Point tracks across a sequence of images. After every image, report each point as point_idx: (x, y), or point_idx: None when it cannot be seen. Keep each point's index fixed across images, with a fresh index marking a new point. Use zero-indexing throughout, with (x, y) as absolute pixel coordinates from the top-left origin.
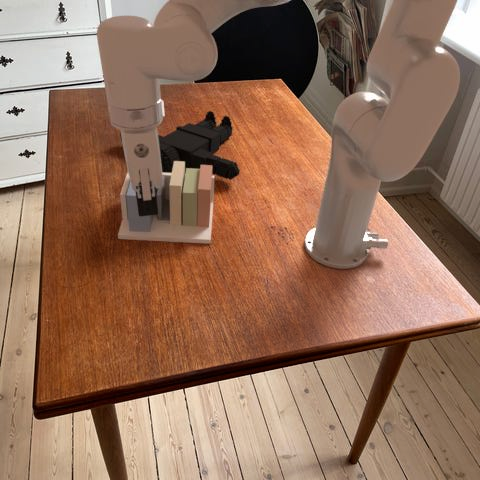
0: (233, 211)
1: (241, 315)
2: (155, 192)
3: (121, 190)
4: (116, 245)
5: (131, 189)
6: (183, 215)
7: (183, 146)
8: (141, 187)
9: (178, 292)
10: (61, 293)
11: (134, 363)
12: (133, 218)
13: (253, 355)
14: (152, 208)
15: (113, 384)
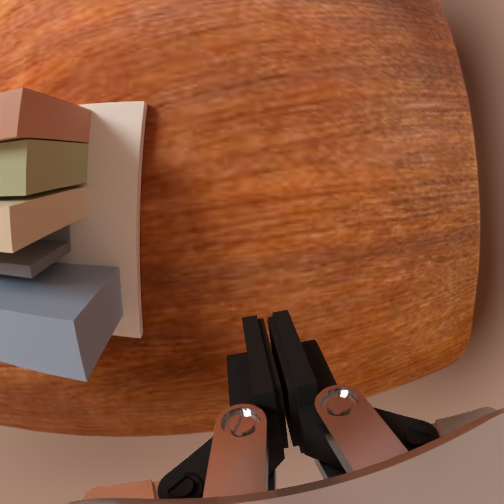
0: (32, 65)
1: (390, 65)
2: (272, 384)
3: None
4: (165, 333)
5: (55, 367)
6: (71, 183)
7: None
8: (275, 462)
9: (328, 185)
10: None
11: (459, 262)
12: (110, 323)
13: (460, 76)
14: (321, 352)
15: (475, 284)
